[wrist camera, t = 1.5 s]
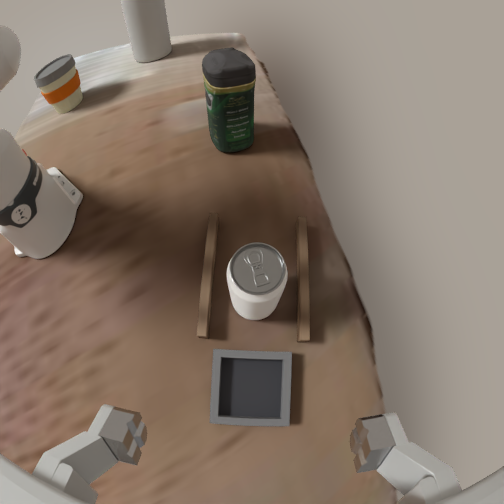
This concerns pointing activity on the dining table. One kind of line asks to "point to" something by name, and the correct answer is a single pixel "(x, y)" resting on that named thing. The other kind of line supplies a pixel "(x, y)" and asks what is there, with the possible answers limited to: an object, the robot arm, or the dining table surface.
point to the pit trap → (250, 388)
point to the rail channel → (302, 279)
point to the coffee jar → (230, 98)
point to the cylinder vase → (147, 29)
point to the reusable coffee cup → (60, 84)
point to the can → (256, 280)
